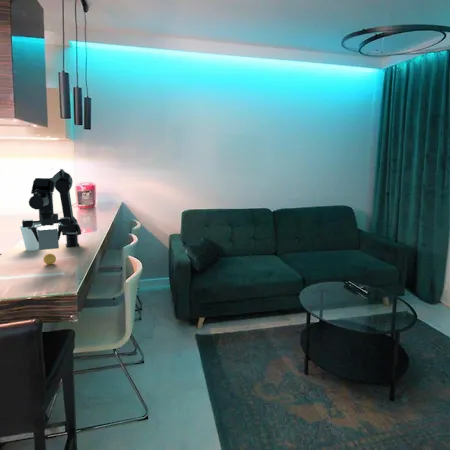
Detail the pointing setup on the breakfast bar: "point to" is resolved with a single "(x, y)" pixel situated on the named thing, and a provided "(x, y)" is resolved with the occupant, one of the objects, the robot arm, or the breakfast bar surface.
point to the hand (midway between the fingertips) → (48, 240)
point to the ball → (49, 259)
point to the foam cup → (30, 238)
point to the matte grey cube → (48, 237)
